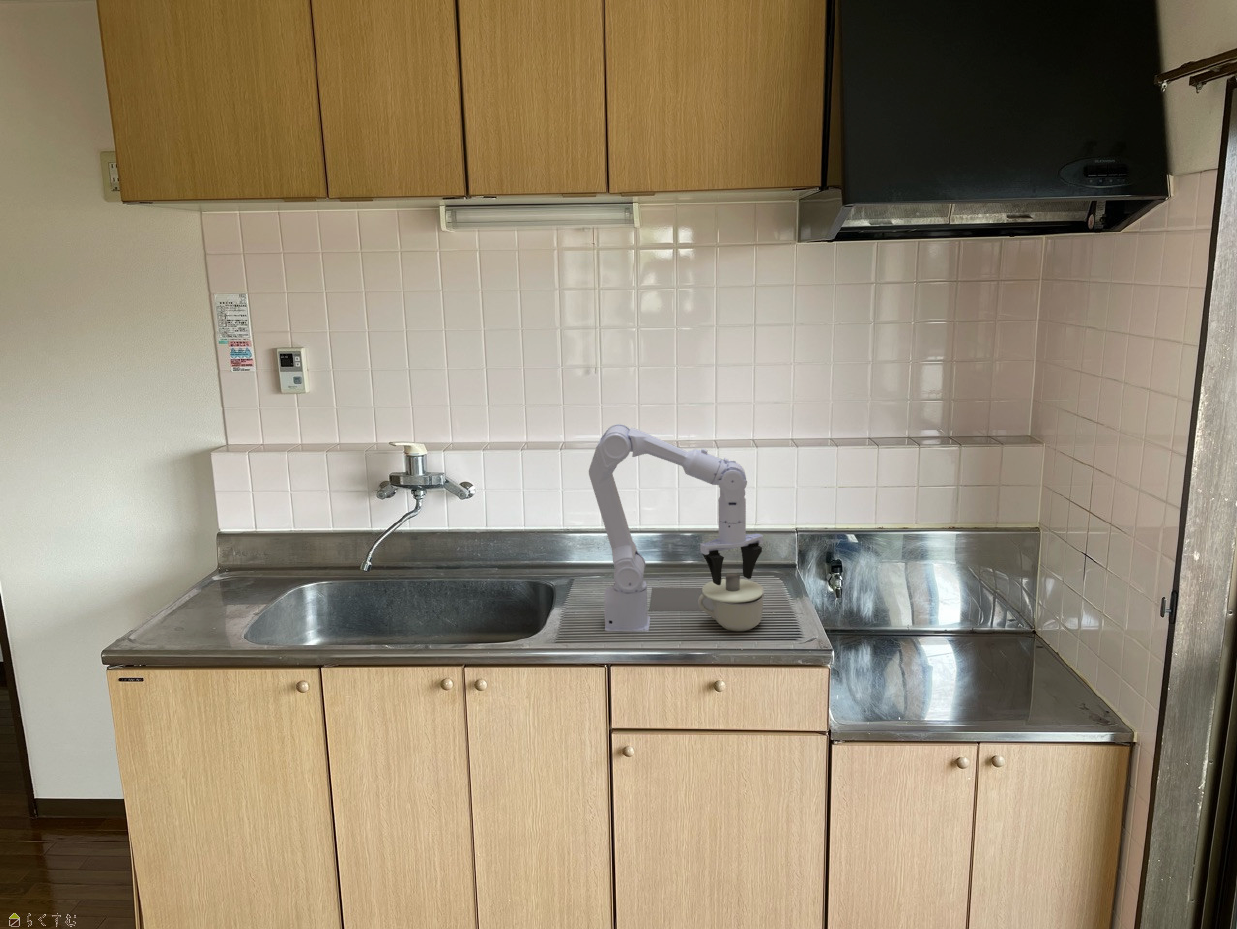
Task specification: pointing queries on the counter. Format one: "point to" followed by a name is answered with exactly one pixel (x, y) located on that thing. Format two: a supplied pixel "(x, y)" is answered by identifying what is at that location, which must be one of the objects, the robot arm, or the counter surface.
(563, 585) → the counter surface
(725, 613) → the teacup
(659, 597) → the mat
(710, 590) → the lid
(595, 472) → the robot arm
